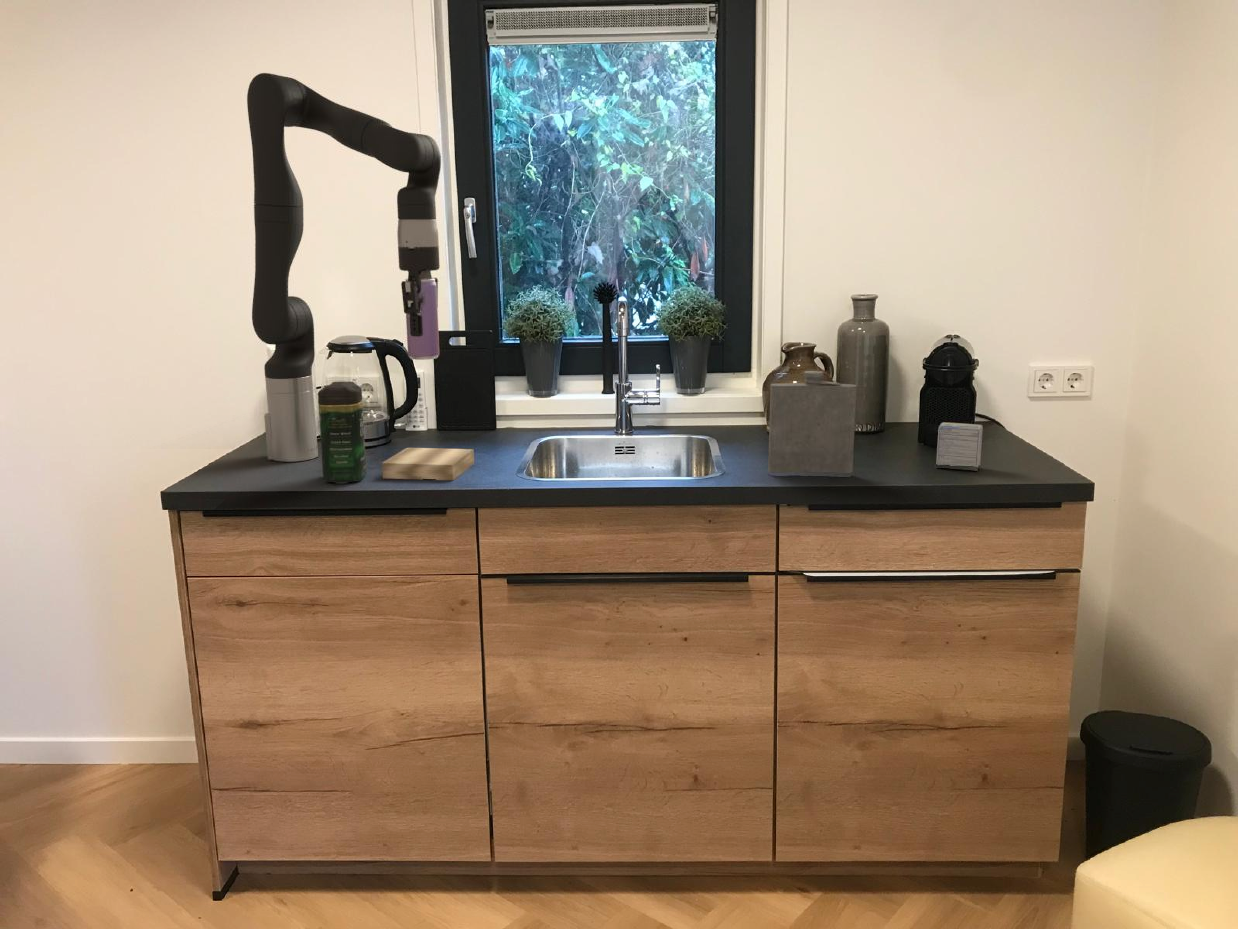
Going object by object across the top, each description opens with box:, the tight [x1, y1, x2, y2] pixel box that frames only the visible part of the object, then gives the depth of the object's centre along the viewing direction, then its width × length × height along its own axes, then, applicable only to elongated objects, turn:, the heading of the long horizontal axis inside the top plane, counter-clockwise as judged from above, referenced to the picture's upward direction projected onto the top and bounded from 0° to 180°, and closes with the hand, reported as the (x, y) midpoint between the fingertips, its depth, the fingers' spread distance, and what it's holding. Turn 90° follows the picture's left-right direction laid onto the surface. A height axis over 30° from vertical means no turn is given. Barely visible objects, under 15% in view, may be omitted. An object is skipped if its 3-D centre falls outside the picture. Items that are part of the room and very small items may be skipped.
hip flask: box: [767, 370, 857, 473], centre depth 194 cm, size 16×4×20 cm, turn 84°
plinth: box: [381, 447, 475, 481], centre depth 200 cm, size 14×14×3 cm
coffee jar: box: [317, 381, 367, 484], centre depth 193 cm, size 10×8×19 cm
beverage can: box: [404, 277, 440, 361], centre depth 194 cm, size 6×6×15 cm
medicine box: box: [935, 421, 984, 467], centre depth 199 cm, size 8×4×9 cm, turn 65°
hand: (422, 334), depth 195 cm, fingers closed on beverage can, 6 cm apart
